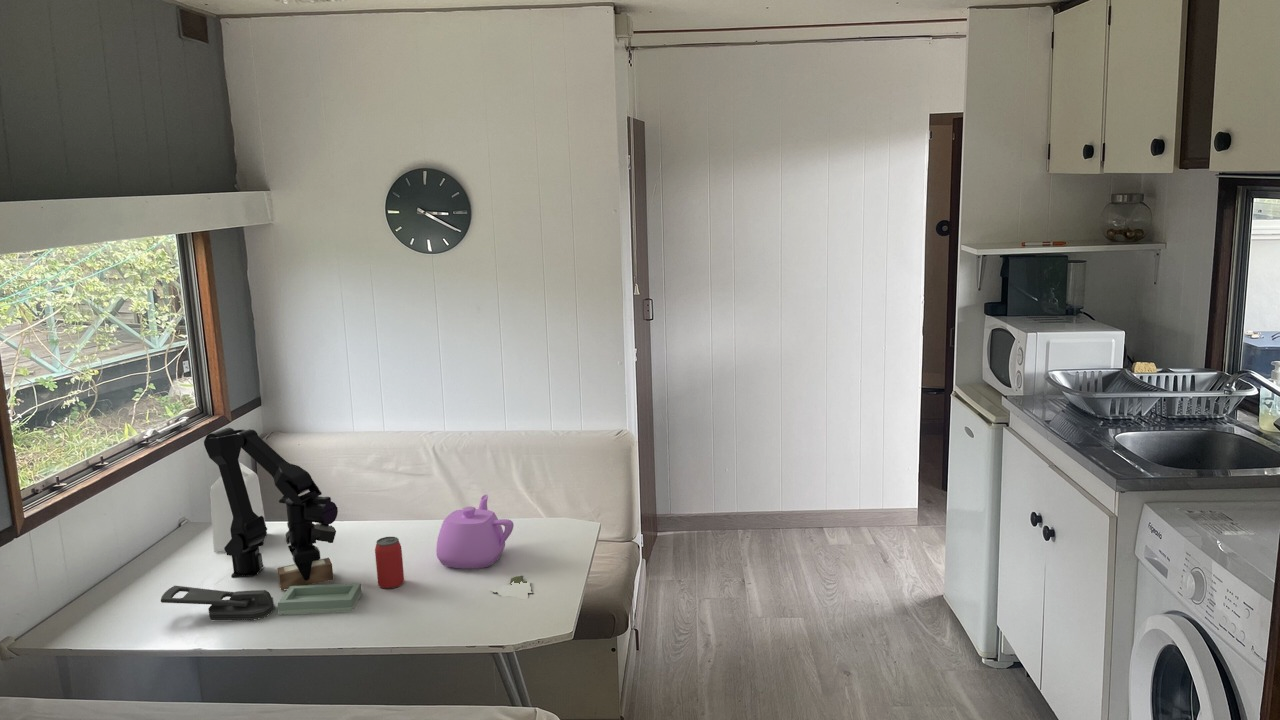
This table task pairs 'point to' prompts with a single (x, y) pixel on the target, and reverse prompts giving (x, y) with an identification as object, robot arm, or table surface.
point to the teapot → (472, 537)
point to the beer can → (389, 562)
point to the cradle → (320, 598)
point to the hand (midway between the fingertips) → (305, 576)
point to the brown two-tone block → (293, 577)
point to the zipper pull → (225, 602)
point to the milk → (223, 511)
